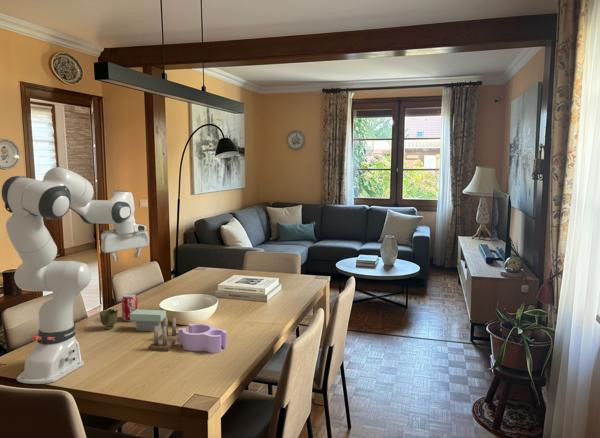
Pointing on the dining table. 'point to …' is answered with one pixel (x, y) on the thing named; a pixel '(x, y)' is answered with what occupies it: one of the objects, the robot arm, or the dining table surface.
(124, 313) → the soda can
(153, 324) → the board rest
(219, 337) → the clip
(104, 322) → the cup
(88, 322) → the dining table surface
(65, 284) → the robot arm
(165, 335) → the peg stand
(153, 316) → the shelf board
